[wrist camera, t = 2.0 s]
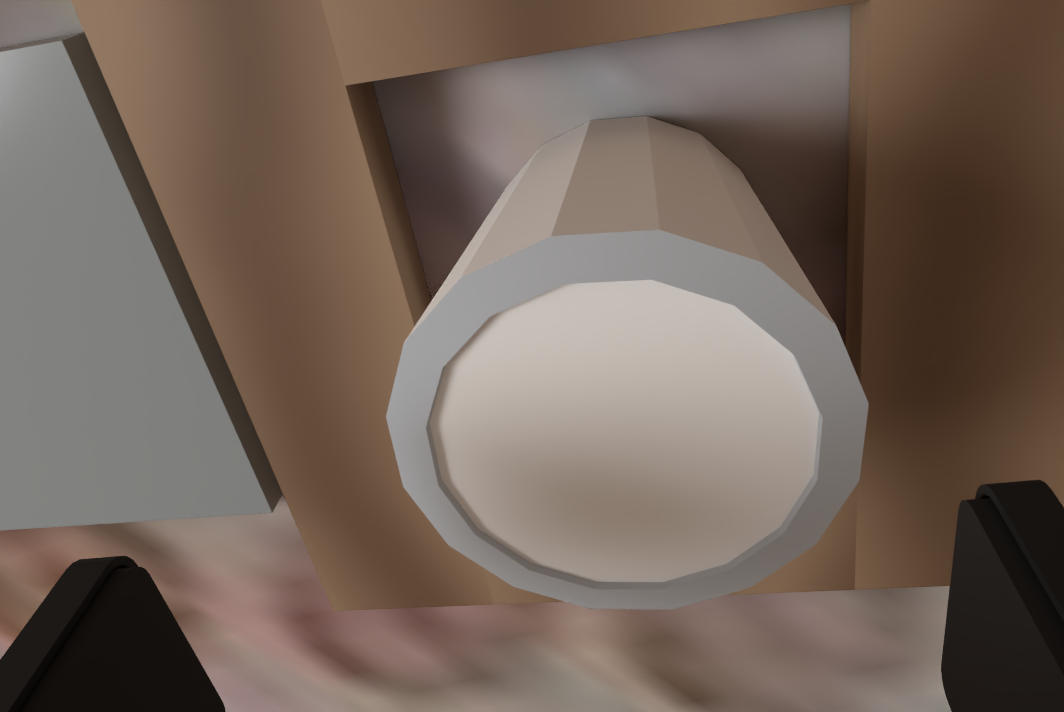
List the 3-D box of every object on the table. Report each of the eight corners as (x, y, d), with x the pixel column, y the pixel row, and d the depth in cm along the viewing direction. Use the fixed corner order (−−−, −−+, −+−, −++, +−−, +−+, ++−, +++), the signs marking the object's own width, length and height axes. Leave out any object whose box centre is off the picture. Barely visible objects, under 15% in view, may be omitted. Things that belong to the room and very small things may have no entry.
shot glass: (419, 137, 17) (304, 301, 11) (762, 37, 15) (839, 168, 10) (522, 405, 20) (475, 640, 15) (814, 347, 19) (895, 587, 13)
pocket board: (1197, -419, 12) (1264, -449, 10) (1032, 535, 21) (1057, 581, 20) (59, -153, 15) (5, -151, 14) (349, 569, 24) (333, 610, 23)
